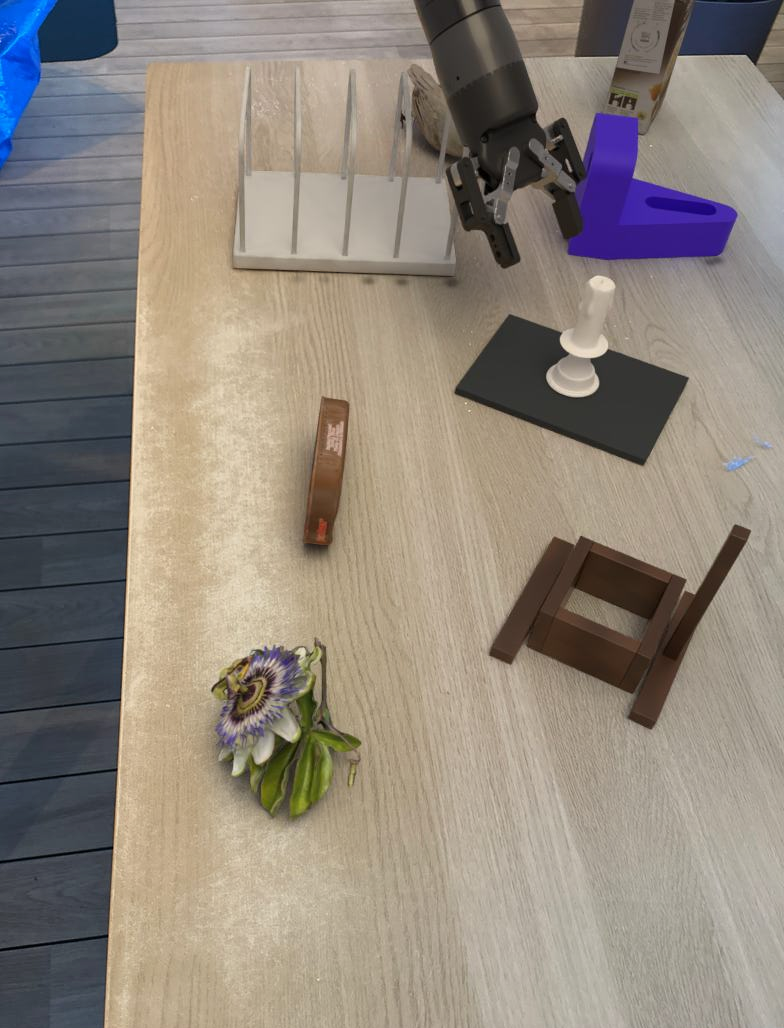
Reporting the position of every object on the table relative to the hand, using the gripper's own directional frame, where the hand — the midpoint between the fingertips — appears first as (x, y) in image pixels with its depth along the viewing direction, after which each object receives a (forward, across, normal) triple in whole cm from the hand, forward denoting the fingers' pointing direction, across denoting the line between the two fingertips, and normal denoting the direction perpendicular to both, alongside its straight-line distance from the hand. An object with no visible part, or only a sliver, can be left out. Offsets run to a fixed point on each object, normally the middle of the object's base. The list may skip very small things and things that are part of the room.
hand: (543, 250), depth 95 cm
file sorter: (-11, -2, +28) cm, 31 cm away
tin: (+12, -30, +5) cm, 33 cm away
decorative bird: (-16, +20, +33) cm, 42 cm away
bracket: (+4, +27, +12) cm, 30 cm away
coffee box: (-10, +48, +27) cm, 56 cm away
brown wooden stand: (+30, -21, -13) cm, 39 cm away
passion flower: (+25, -48, -8) cm, 55 cm away
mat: (+14, 0, +3) cm, 14 cm away
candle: (+13, 0, +3) cm, 13 cm away
